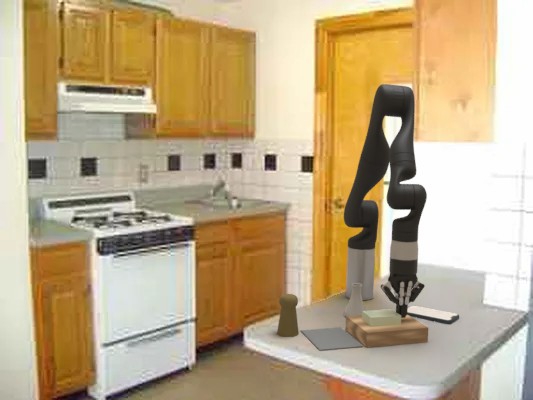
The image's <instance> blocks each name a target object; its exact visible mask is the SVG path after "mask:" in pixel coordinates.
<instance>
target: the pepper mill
mask: <svg viewBox="0 0 533 400" xmlns="http://www.w3.org/2000/svg"><path fill="white" fill-rule="evenodd" d="M278 303H279V305H280V312H279V318H278V325H277V335H278V336H280V337H285V338H293V337H297V336H298V335H299V333H300V332H299V323H298V314H297V306H298V303H299V299H298V296H297V295H296V294H293V293H283V294H282V295H280V296H279V299H278Z"/></svg>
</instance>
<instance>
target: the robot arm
mask: <svg viewBox="0 0 533 400" xmlns="http://www.w3.org/2000/svg"><path fill="white" fill-rule="evenodd" d="M415 102H416V101H415V94H414V90H413V89H412V87H410V86H407V85H397V84H387V83H383V84H380V85H378V87H377V89H376V91H375V94H374V98H373V103H372V107H371V112H370V118H369V124H368V127H367V131H366V132H367V133H366V136H365V140H364V144H363V145H362V150H361V153H360V156H359V160H358V165H357V169H356V172H355V178H354V180H353V184H352V187H351V189H350V192H349V195H348V197H347V200H346V203H345V206H344V211H343V222H344V224H345V225H346V226H347V227H348V228H354V229H355V228H356V229H357V228H358V229H359V228H360V229H361V228H362V230H361V231H360V232H358V233H357V234H355V235H352V236H350V237H349V238H348V240H347V255H346V257H347V259H346V266H347V267H346V284H345V286H346V287H345V288H346V291H345V296H346V298H349V299H350V298H351V294H352V284H353V283H359V284H362V287H361V296H362V300H363V301H368V300H373V298H374V288H375V285H374V284H375V264H376V263H375V261H376V243H377V239H378V228H379V227H378V226H379V217H380V214H379V213H380V211H379V205H378V204H377V201H375V200H374V199H373V200H371V199H366V200H365V198H366V196H367V194H369V192H370V191H371V190H373V188H374V187H375V186H376V185H377V184H379V183H380V181H382V180H383V178H384V177H385V175H386V174H387V171H388V169H389V168H390V170H389V171H390V176H389V177H390V178H389V183H388V188H387V193H386V202H387V204H388V207H389V208H390V209H392V210H396V211H399V210H402V211H403V210H404V211H405V210H408V211H409V213H408V214H407V215H406V216H402V217H396V218H394V219H393V220H392V224H391V242H390V247H389V248H390V249H389V250H390V251H389V269H388V270H389V275H388V278H387V282H385V283H384V284H380V289H381V290H382V292H383V293H384V294H385V296H386V297H387V299H388V300H389V301H390V302H392V303H393V304H395V312H397V313H398V314H400V315H401V318H405V317H406V315H407V309H408V307H409V304H410V303H414V302H415V301H416V299H417V298H418V296H419V295H420V294H421V293H422V291H423V289H424V288H425V284H424V283H422V282H420V281H419V280H418V279H419V278H418V276H417V273H418V266H419V265H418V264H419V263H418V262H419V261H418V260H419V243H418V241H419V240H418V239H419V226H420V221H421V217H422V214H423V211H424V208H425V206H426V203H427V200H428V199H427V198H428V193H427V190H426V188H425V187H424V186H423V185H422V184H419V183H418V184H417V183H412V184H411V183H401V182H406V181H409V180H411V179H414V177H416V175H417V166H416V164H417V163H416V156H415V148H414V147H415V146H414V144H415V143H414V141H415V140H414V139H415V138H414V136H415V135H414V134H415V114H416V113H415V111H416V110H415V109H416V108H415V107H416V104H415ZM385 117H390V118H391V117H392V118H393V117H395V118H400V119H401V126H400V129H399V130H398V132H397V134H396V135H395V137H394V139H393V141H392V142H391V144H390V145H389V143H388V140H387V138H386V135H385V131H384V126H383V124H384V119H385ZM392 289H393V292H392Z"/></svg>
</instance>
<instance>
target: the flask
mask: <svg viewBox="0 0 533 400" xmlns="http://www.w3.org/2000/svg"><path fill="white" fill-rule="evenodd" d="M361 287H362V284H359V283H353V284H352V294H351V298H349V301H348V303H347V305H346V308H345V310H344V312H343V315H344V317H345V318H346V316H355V315H362V311H367V310H366V308H365V304H364V300H362V296H361Z"/></svg>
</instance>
